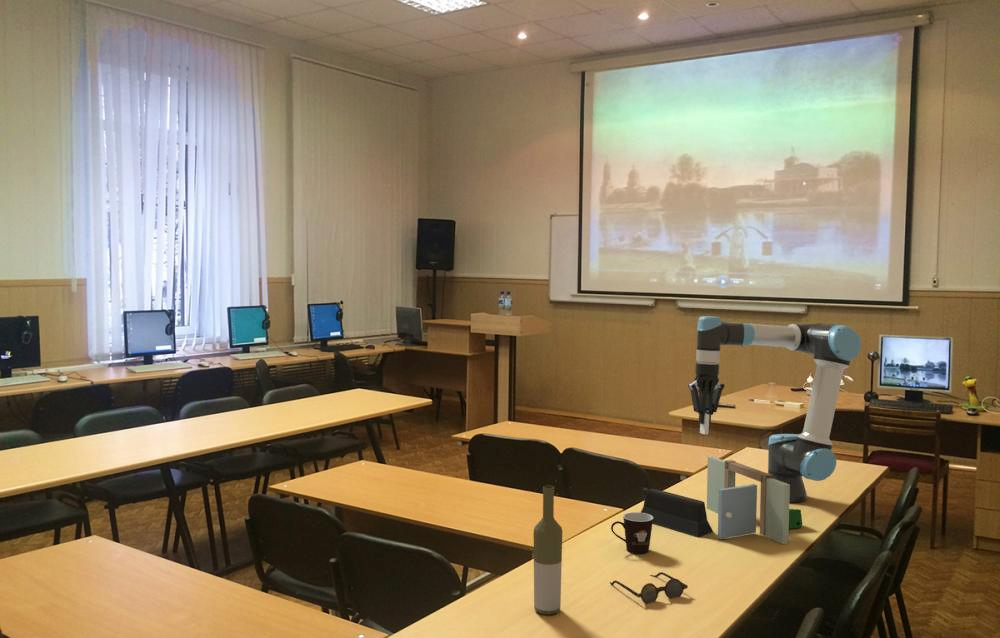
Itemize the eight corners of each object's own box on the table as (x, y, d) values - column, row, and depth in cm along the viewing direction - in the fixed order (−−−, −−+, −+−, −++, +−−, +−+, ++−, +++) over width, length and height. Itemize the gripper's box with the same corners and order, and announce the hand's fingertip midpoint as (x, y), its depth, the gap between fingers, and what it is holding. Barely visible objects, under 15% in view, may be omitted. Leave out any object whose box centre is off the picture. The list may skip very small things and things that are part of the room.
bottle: (528, 614, 179) (529, 489, 177) (537, 602, 185) (538, 481, 184) (557, 619, 176) (558, 492, 175) (565, 607, 183) (566, 484, 181)
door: (752, 531, 237) (753, 484, 236) (759, 534, 234) (760, 486, 233) (717, 537, 231) (718, 489, 230) (724, 540, 228) (725, 491, 227)
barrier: (713, 532, 238) (714, 501, 238) (697, 538, 232) (698, 506, 232) (652, 514, 256) (653, 485, 255) (636, 520, 250) (637, 490, 249)
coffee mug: (654, 547, 224) (655, 514, 223) (650, 557, 216) (651, 522, 215) (615, 542, 228) (615, 509, 227) (610, 552, 219) (610, 518, 219)
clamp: (787, 537, 246) (794, 510, 248) (798, 539, 240) (805, 511, 243) (755, 524, 244) (762, 497, 247) (765, 526, 239) (772, 498, 241)
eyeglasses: (638, 607, 184) (638, 587, 184) (606, 584, 197) (606, 565, 197) (687, 597, 190) (687, 578, 189) (653, 576, 203) (653, 557, 203)
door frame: (712, 507, 263) (713, 453, 262) (789, 543, 228) (790, 481, 227) (705, 508, 262) (706, 454, 261) (781, 544, 227) (783, 482, 226)
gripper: (717, 361, 256) (713, 430, 257) (684, 361, 251) (680, 432, 253) (731, 364, 249) (727, 435, 250) (697, 364, 244) (693, 436, 245)
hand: (704, 433), depth 251 cm, fingers closed
